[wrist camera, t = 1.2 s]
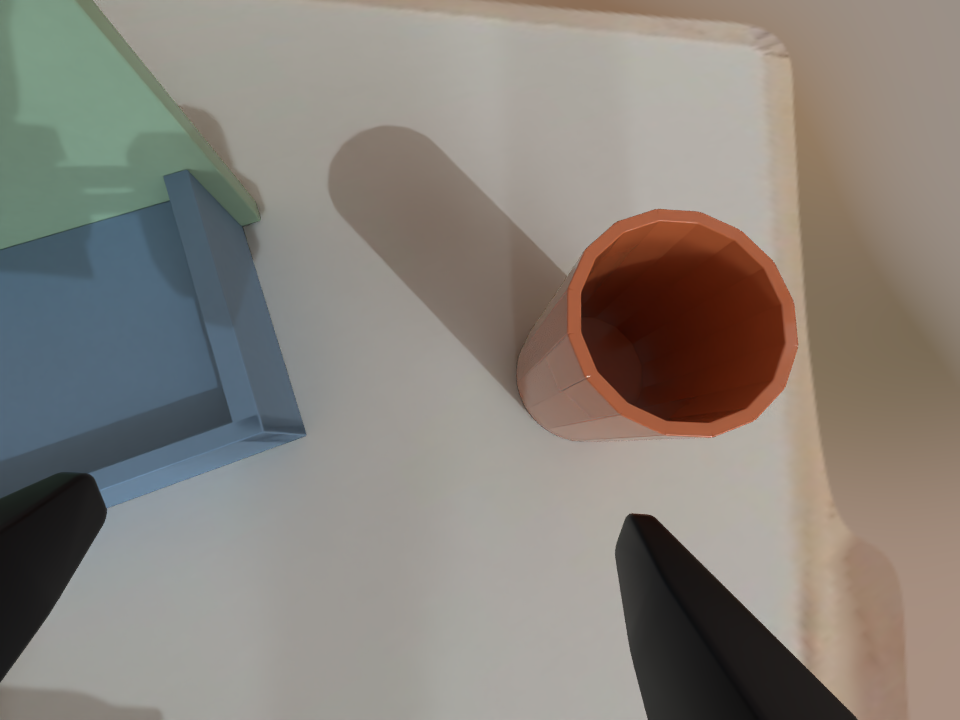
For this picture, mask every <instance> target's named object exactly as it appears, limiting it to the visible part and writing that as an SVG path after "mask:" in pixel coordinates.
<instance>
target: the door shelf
mask: <svg viewBox="0 0 960 720" xmlns="http://www.w3.org/2000/svg"><path fill="white" fill-rule="evenodd" d="M260 220H261V218H260V215H259V212H258V209H257V205H256V202H255V201H254V199H253V198H252V197H251V196H250V195H249V193H248V192H247V191H246V190H245V188H244V187H243V186H242V185H241V183H240V182H239V181H238V180H237V178H236V177H235V176H234V175H233V173H232V172H231V171H230V170H229V169H228V167H227V166H226V165H225V164H224V162H223V161H222V160H221V159H220V157H219V156H218V155H217V154H216V152H215V151H214V150H213V149H212V148H211V146H210V145H209V144H208V143H207V141H206V140H205V139H204V138H203V136H202V135H201V134H200V133H199V131H198V130H197V129H196V128H195V126H194V125H193V124H192V123H191V122H190V120H189V119H188V118H187V117H186V115H185V114H184V113H183V112H182V110H181V109H180V108H179V107H178V105H177V104H176V103H175V102H174V101H173V99H172V98H171V97H170V96H169V94H168V93H167V92H166V91H165V89H164V88H163V87H162V86H161V84H160V83H159V82H158V81H157V80H156V78H155V77H154V76H153V75H152V73H151V72H150V71H149V70H148V68H147V67H146V66H145V65H144V63H143V62H142V61H141V60H140V58H139V57H138V56H137V55H136V54H135V52H134V51H133V50H132V49H131V47H130V46H129V45H128V44H127V42H126V41H125V40H124V39H123V37H122V36H121V35H120V34H119V33H118V31H117V30H116V29H115V28H114V26H113V25H112V24H111V23H110V21H109V20H108V19H107V18H106V16H105V15H104V14H103V13H102V11H101V10H100V9H99V8H98V7H97V5H96V4H95V3H94V2H93V0H0V498H2V497H5V496H7V495H9V494H11V493H13V492H16V491H18V490H20V489H22V488H25V487H27V486H29V485H31V484H34V483H36V482H38V481H40V480H43V479H45V478H47V477H49V476H52V475H54V474H56V473H60V472H79V473H88V474H90V475H91V476H93V477H94V479H95V481H96V483H97V485H98V488H99V490H100V493H101V495H102V498H103V500H104V503H105V505H106V508H109V507H111V506H114V505H117V504H120V503H122V502H125V501H128V500H131V499H133V498H136V497H139V496H142V495H144V494H147V493H150V492H153V491H155V490H158V489H161V488H164V487H166V486H169V485H172V484H175V483H177V482H180V481H183V480H186V479H188V478H191V477H194V476H197V475H199V474H202V473H205V472H208V471H210V470H213V469H216V468H219V467H221V466H224V465H227V464H230V463H232V462H235V461H238V460H241V459H243V458H246V457H249V456H252V455H254V454H257V453H260V452H263V451H265V450H268V449H271V448H274V447H276V446H279V445H282V444H285V443H288V442H290V441H293V440H296V439H299V438H301V437H304V436H306V432H305V428H304V425H303V422H302V419H301V415H300V412H299V409H298V406H297V402H296V399H295V396H294V393H293V389H292V386H291V383H290V380H289V376H288V373H287V370H286V367H285V363H284V360H283V357H282V354H281V350H280V347H279V344H278V341H277V338H276V334H275V331H274V328H273V325H272V321H271V318H270V315H269V312H268V308H267V305H266V302H265V299H264V295H263V292H262V289H261V286H260V282H259V279H258V276H257V273H256V269H255V266H254V263H253V260H252V256H251V253H250V250H249V247H248V243H247V240H246V237H245V234H244V230H243V227H242V226H244V225H248V224H251V223H254V222H258V221H260Z"/></svg>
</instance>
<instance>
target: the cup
mask: <svg viewBox="0 0 960 720" xmlns="http://www.w3.org/2000/svg"><path fill="white" fill-rule="evenodd" d="M797 346H798V337H797V327H796V317H795V306H794V303H793V299H792V297H791V295H790V293H789V291H788V289H787V287H786V285H785V283H784V281H783V279H782V277H781V275H780V273H779V271H778V269H777V267H776V265H775V263H774V262H773V260H772V259H771V258H770V257H769V256H767V255H766V254H765V253H764V252H763V251H762V250H761V249H760V248H759V247H758V246H757V245H756V244H755V243H754V242H753V241H752V240H751V239H750V238H749V237H748V236H746V235H745V234H744V233H743V232H742V231H740V230H739V229H737V228H735V227H733V226H731V225H728V224H726V223H724V222H722V221H719V220H717V219H715V218H713V217H711V216H708V215H706V214H704V213H702V212H700V213H699V212H696V211H681V210H667V209H657V210H656V209H654V210H651V211H648V212H645V213H642V214H639V215H636V216H633V217H630V218H627V219H624V220H621V221H617V222H616V223H614V224H613V225H612V226H611V227H610V228H609V229H607V230H606V231H605V232H604V233H603V234H602V235H601V236H600V237H598V238H597V239H596V240H595V241H594V242H593V243H592V244H590V245H589V246H588V247H587V248H586V249H585V251H584V252H583V253H582V255H581V256H580V258H579V259H578V261H577V262H576V264H575V265H574V267H573V268H572V270H571V271H570V273H569V274H568V276H567V277H566V279H565V280H564V282H563V283H562V285H561V286H560V288H559V289H558V291H557V292H556V294H555V295H554V297H553V298H552V300H551V301H550V303H549V304H548V306H547V308H546V309H545V311H544V312H543V314H542V315H541V317H540V318H539V320H538V321H537V323H536V324H535V326H534V327H533V329H532V330H531V332H530V333H529V335H528V337H527V339H526V341H525V343H524V345H523V347H522V349H521V352H520V354H519V357H518V362H517V370H516V376H517V385H518V390H519V393H520V397H521V399H522V401H523V403H524V406H525V407H526V409H527V410H528V412H529V413H530V415H531V416H532V417H533V418H534V420H535V421H537V422H538V423H539V424H540V425H541V426H542V427H543V428H545V429H546V430H548V431H549V432H551V433H553V434H555V435H557V436H559V437H562V438H564V439H568V440H571V441H588V442H607V441H635V440H662V439H690V438H711V437H716V436H718V435H721V434H723V433H726V432H728V431H731V430H733V429H736V428H738V427H741V426H743V425H746V424H748V423H751V422H753V421H754V420H756V419H757V418H758V417H759V416H760V415H761V414H762V412H763V411H764V410H765V409H766V408H767V407H768V406H769V405H770V404H771V403H772V402H773V401H774V400H775V398H776V397H777V396H778V395H779V394H780V393H781V392H782V391H783V390H784V388H785V387H786V384H787V380H788V377H789V374H790V371H791V368H792V365H793V362H794V359H795V355H796V352H797V349H798V347H797Z"/></svg>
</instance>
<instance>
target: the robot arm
mask: <svg viewBox="0 0 960 720" xmlns="http://www.w3.org/2000/svg"><path fill="white" fill-rule="evenodd" d="M106 515H107V508H106V505H105V503H104V500H103V498H102V495H101V493H100V490H99V488H98V485H97V483H96V481H95V479H94V477H93V476H91V475H90V474H88V473H79V472H60V473H56V474H54V475H52V476H49V477H47V478H45V479H43V480H40V481H38V482H36V483H34V484H31V485H29V486H27V487H25V488H22V489H20V490H18V491H16V492H13V493H11V494H9V495H7V496H5V497H2V498H0V682H1V681H2V680H3V678H4V677H5V675H6V674H7V673H8V671H9V670H10V668H11V667H12V666H13V664H14V663H15V662H16V660H17V659H18V657H19V656H20V655H21V653H22V652H23V650H24V649H25V648H26V646H27V645H28V644H29V642H30V641H31V639H32V638H33V637H34V635H35V634H36V632H37V631H38V630H39V628H40V627H41V625H42V624H43V622H44V621H45V619H46V618H47V617H48V615H49V614H50V612H51V610H52V609H53V607H54V606H55V604H56V602H57V601H58V599H59V598H60V596H61V594H62V593H63V591H64V589H65V588H66V586H67V584H68V583H69V581H70V579H71V578H72V576H73V574H74V573H75V571H76V569H77V568H78V566H79V564H80V563H81V561H82V559H83V558H84V556H85V554H86V552H87V551H88V549H89V547H90V546H91V544H92V542H93V541H94V539H95V537H96V536H97V534H98V532H99V531H100V529H101V527H102V526H103V524H104V522H105V519H106ZM615 558H616V565H617V571H618V578H619V584H620V591H621V597H622V603H623V610H624V616H625V623H626V629H627V635H628V641H629V647H630V652H631V656H632V660H633V664H634V669H635V672H636V676H637V680H638V684H639V688H640V691H641V695H642V699H643V703H644V707H645V711H646V714H647V718H648V720H857V718H856V717H855V716H854V715H853V714H852V713H851V712H850V711H849V710H848V709H847V708H846V707H845V706H844V705H843V704H842V703H841V702H840V701H839V700H838V699H837V698H836V697H835V696H834V695H833V694H832V693H831V692H830V691H829V690H828V689H827V688H826V687H825V686H824V685H823V684H822V683H821V682H820V681H819V680H818V679H817V678H816V677H815V676H814V675H813V674H812V673H811V672H810V671H809V670H808V669H807V668H806V667H805V666H804V665H803V664H802V663H801V662H800V661H799V660H798V659H797V658H796V657H795V656H794V655H793V654H792V653H791V652H790V651H789V650H788V649H787V648H786V647H785V646H784V645H783V644H782V643H781V642H780V641H779V640H778V639H777V638H776V637H775V636H774V635H773V634H772V633H771V632H770V631H769V630H768V629H767V628H766V627H765V626H764V625H763V624H762V623H761V622H760V621H759V620H758V619H757V618H756V617H755V616H754V615H753V614H752V613H751V612H750V611H749V610H748V609H747V608H746V607H745V606H744V605H743V604H742V603H741V602H740V601H739V600H738V599H737V598H736V597H735V596H734V595H733V594H732V593H731V592H730V591H729V590H728V589H726V588H725V587H724V586H723V585H722V584H721V583H720V582H719V581H718V580H717V579H716V578H715V577H714V576H713V575H712V574H711V573H710V572H709V571H708V570H707V569H706V568H705V567H704V566H703V565H702V564H701V563H700V562H699V561H698V560H697V559H696V558H695V557H694V556H693V555H692V554H691V553H690V552H689V551H688V550H687V549H686V548H685V547H684V546H683V545H682V544H681V543H680V542H679V541H678V540H677V539H676V538H675V537H674V536H673V535H672V534H671V533H670V532H669V531H668V530H667V529H666V528H665V527H664V526H663V525H662V524H661V523H660V522H659V521H658V520H657V519H656V518H655V517H653V516H651V515H646V514H633V513H632V514H629V515H628V516H627V517H626V518H625V521H624V524H623V527H622V529H621V532H620V535H619V538H618V541H617V544H616V549H615Z"/></svg>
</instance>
